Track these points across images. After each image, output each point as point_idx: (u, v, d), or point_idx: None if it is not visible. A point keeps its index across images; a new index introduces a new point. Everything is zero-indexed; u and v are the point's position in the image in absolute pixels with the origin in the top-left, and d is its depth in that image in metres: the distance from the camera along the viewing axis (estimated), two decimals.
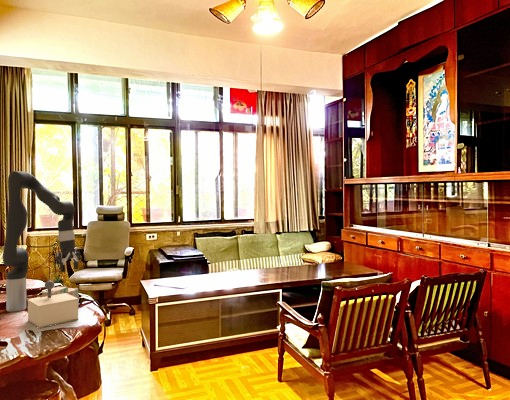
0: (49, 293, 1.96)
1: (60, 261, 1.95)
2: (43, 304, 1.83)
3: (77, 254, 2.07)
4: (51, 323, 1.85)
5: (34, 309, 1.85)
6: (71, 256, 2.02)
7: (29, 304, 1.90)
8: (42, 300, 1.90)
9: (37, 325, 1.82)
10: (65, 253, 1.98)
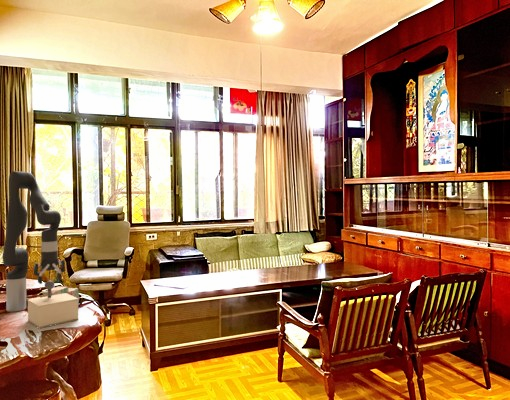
0: (49, 293, 1.96)
1: (36, 272, 1.91)
2: (43, 304, 1.83)
3: (61, 265, 2.00)
4: (51, 323, 1.85)
5: (34, 309, 1.85)
6: (52, 268, 1.96)
7: (29, 304, 1.90)
8: (42, 300, 1.90)
9: (37, 325, 1.82)
10: (44, 264, 1.93)
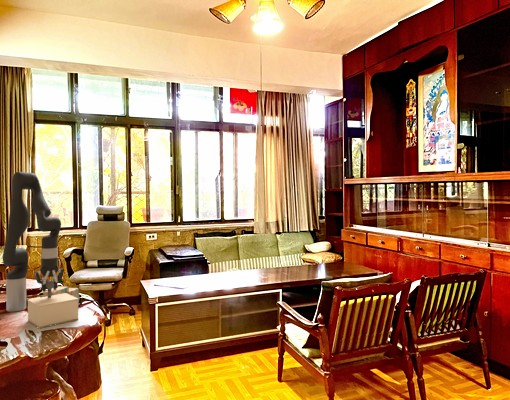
0: (49, 293, 1.96)
1: (39, 280, 1.92)
2: (43, 304, 1.83)
3: (60, 274, 2.00)
4: (51, 323, 1.85)
5: (34, 309, 1.85)
6: (50, 274, 1.96)
7: (29, 304, 1.90)
8: (42, 300, 1.90)
9: (37, 325, 1.82)
10: (44, 272, 1.93)
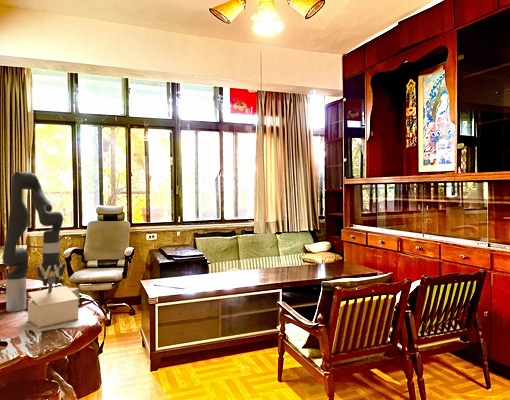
0: (49, 287, 1.95)
1: (41, 275, 1.91)
2: (43, 304, 1.83)
3: (61, 268, 1.98)
4: (51, 323, 1.85)
5: (34, 309, 1.85)
6: (52, 268, 1.94)
7: (29, 304, 1.90)
8: (42, 296, 1.90)
9: (37, 325, 1.82)
10: (45, 267, 1.92)
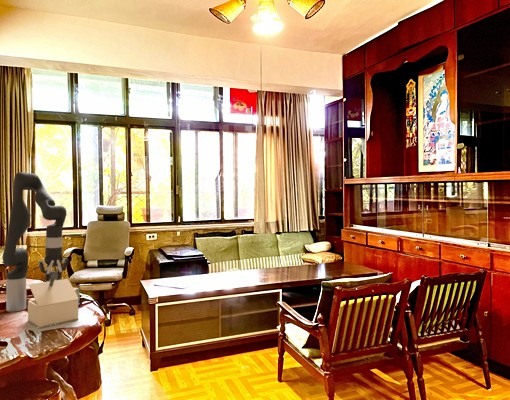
0: (51, 282, 1.93)
1: (43, 270, 1.88)
2: (43, 303, 1.83)
3: (64, 263, 1.96)
4: (51, 323, 1.85)
5: (34, 309, 1.85)
6: (55, 263, 1.92)
7: (29, 304, 1.90)
8: (43, 291, 1.89)
9: (37, 325, 1.82)
10: (48, 262, 1.89)
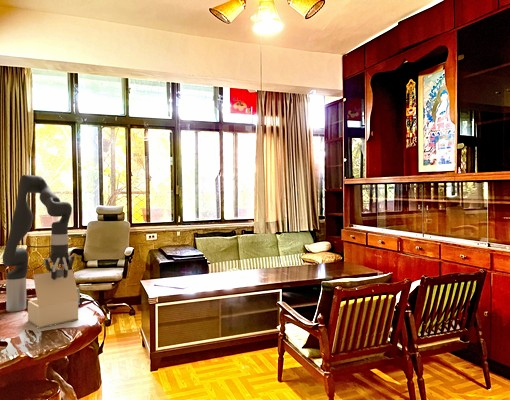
0: None
1: (49, 268, 1.83)
2: (44, 303, 1.83)
3: (70, 261, 1.90)
4: (51, 323, 1.85)
5: (34, 309, 1.85)
6: (61, 261, 1.87)
7: (29, 304, 1.90)
8: (46, 286, 1.87)
9: (37, 325, 1.82)
10: (53, 259, 1.84)
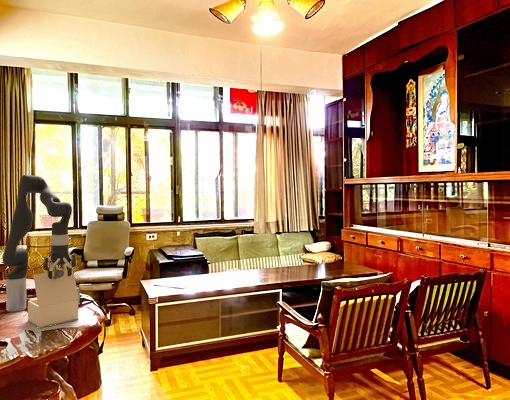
0: (56, 277, 1.89)
1: (46, 267, 1.81)
2: (44, 303, 1.83)
3: (72, 260, 1.91)
4: (51, 323, 1.85)
5: (34, 309, 1.85)
6: (62, 262, 1.87)
7: (29, 304, 1.90)
8: (46, 286, 1.87)
9: (37, 325, 1.82)
10: (54, 259, 1.84)
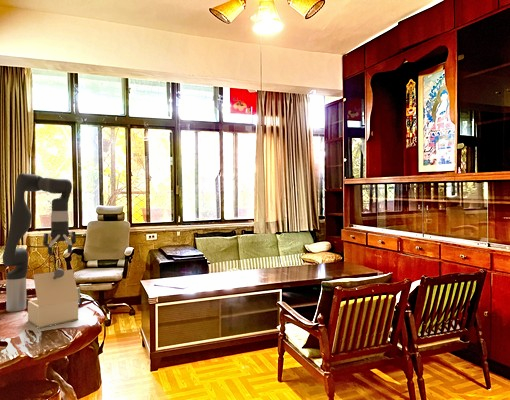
0: (56, 277, 1.89)
1: (46, 243, 1.81)
2: (44, 303, 1.83)
3: (72, 237, 1.91)
4: (51, 323, 1.85)
5: (34, 309, 1.85)
6: (62, 239, 1.87)
7: (29, 304, 1.90)
8: (46, 286, 1.87)
9: (37, 325, 1.82)
10: (54, 235, 1.84)
